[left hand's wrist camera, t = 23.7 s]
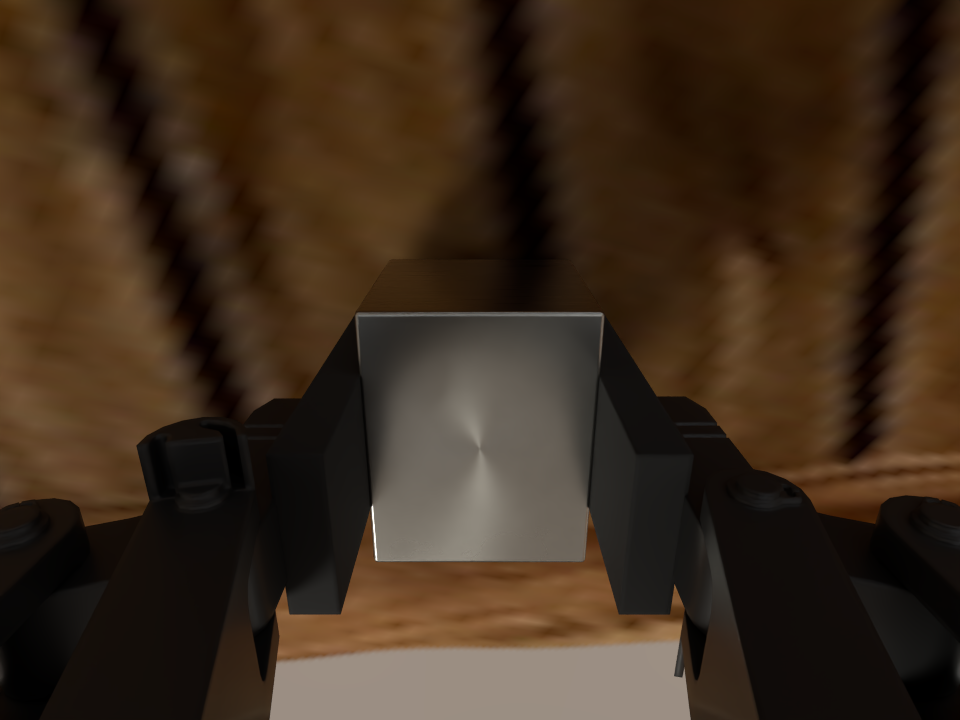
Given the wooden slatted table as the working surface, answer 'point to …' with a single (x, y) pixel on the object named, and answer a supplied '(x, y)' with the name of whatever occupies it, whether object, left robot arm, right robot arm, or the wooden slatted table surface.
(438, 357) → the block
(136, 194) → the wooden slatted table surface
